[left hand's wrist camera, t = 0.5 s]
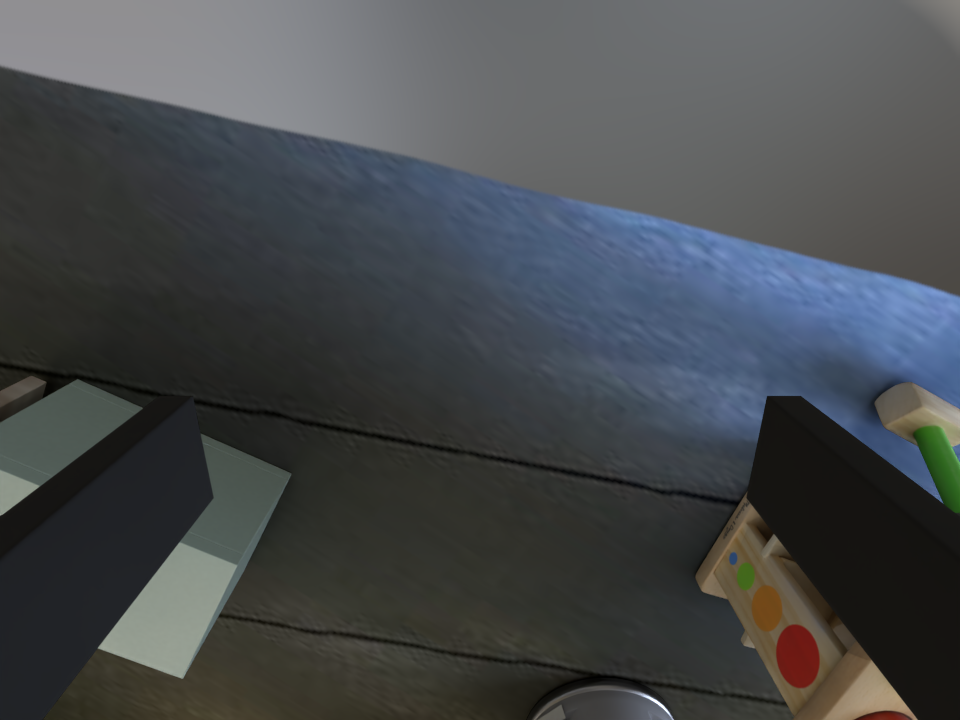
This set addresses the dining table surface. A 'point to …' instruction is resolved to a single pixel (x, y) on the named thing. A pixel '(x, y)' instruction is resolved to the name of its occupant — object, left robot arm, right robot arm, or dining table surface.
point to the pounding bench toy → (797, 603)
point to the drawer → (20, 396)
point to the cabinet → (199, 555)
